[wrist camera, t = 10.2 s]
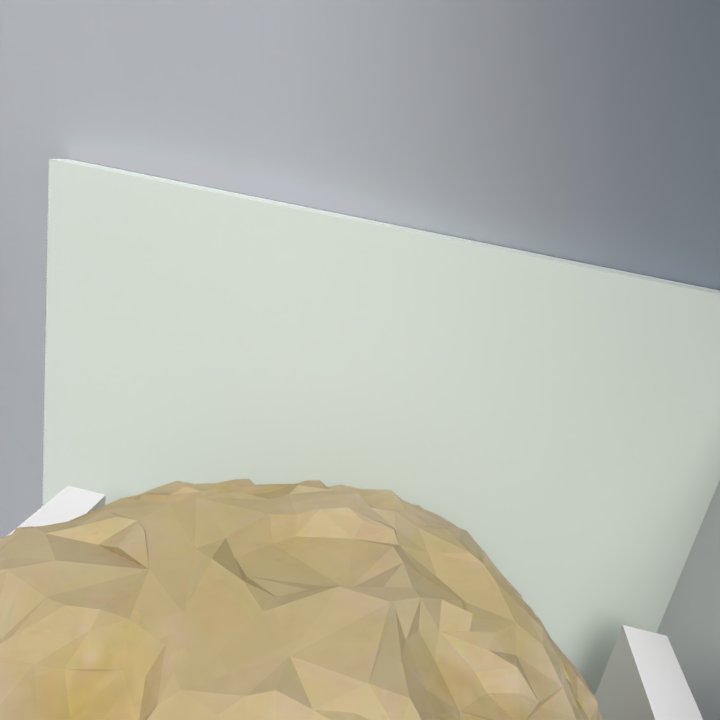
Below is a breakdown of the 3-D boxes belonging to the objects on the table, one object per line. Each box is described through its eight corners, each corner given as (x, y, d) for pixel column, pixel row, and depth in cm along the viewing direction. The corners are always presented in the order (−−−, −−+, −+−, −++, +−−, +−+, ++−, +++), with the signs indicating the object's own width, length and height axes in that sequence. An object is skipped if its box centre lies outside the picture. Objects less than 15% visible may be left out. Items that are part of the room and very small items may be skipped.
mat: (52, 712, 16) (38, 732, 16) (68, 159, 12) (48, 158, 11) (591, 867, 15) (596, 894, 15) (834, 314, 11) (855, 322, 10)
